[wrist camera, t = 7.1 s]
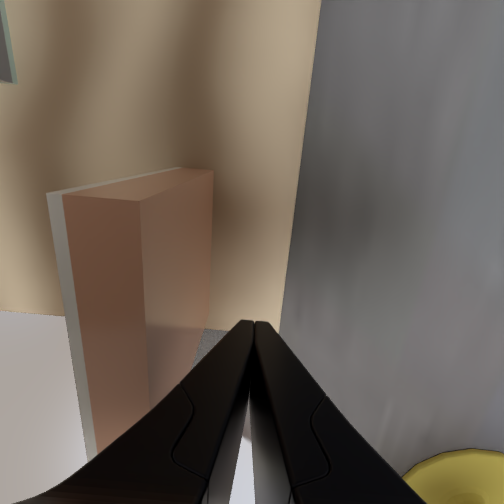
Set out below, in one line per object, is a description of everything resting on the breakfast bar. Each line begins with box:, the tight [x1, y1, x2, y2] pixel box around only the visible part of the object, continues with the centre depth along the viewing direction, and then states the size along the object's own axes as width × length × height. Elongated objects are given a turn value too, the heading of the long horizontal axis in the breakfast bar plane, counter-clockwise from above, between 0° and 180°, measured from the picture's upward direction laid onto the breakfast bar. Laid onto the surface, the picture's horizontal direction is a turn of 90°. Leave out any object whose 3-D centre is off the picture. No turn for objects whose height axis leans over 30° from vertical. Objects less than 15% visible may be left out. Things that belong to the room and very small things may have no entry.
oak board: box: [0, 0, 321, 333], centre depth 14 cm, size 23×21×1 cm
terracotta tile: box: [46, 167, 214, 462], centre depth 11 cm, size 2×8×9 cm, turn 175°
